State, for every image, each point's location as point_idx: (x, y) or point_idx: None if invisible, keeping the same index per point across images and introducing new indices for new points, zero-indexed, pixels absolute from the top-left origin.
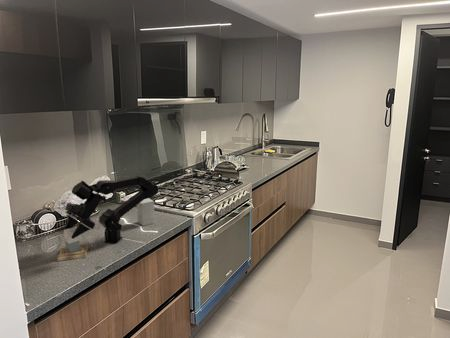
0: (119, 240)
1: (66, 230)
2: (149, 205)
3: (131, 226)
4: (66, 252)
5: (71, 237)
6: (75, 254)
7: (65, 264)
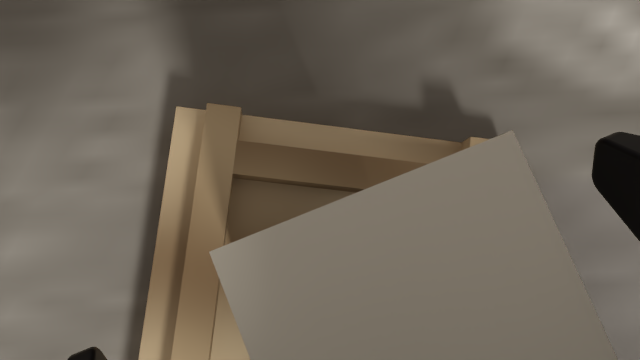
0: None
1: (435, 213)
2: None
3: None
4: None
5: (74, 355)
6: (176, 343)
7: (23, 211)
